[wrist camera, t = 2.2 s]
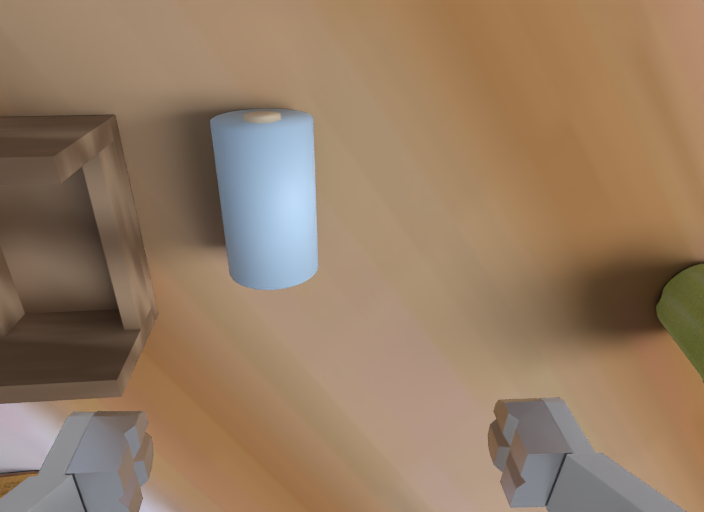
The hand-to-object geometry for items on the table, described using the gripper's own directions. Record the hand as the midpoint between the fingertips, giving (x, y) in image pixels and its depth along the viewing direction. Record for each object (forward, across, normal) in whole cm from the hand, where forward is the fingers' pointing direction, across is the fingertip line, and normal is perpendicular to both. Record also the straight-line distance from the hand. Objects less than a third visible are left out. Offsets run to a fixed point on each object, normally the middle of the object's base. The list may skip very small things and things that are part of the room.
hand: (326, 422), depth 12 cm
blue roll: (+21, -2, -2) cm, 22 cm away
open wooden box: (+21, -15, -6) cm, 27 cm away
